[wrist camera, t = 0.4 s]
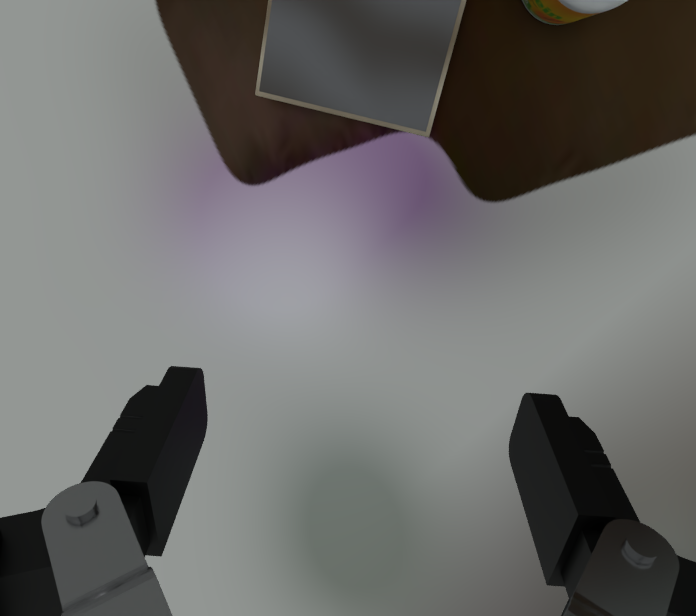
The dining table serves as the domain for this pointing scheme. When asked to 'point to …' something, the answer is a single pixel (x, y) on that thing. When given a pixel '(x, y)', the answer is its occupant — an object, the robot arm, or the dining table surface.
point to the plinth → (360, 58)
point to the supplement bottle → (568, 9)
